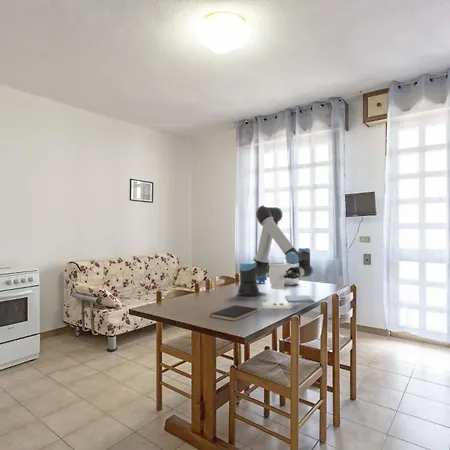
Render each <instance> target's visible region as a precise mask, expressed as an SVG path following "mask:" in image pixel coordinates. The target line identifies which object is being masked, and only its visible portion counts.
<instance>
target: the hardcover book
mask: <svg viewBox="0 0 450 450" xmlns="http://www.w3.org/2000/svg"><path fill="white" fill-rule="evenodd" d="M257 312H258V308H257V307H251V306H250V307H249V306H245V305H244V306H243V305H237V304H235V305H232V306H228V307H225V308H223V309H219V310H216V311H214V312H211V313H210V317H212V318H218V319H223V320H228V321H238V320H240V319H242V318H244V317H247V316H250V315H252V314H254V313H257Z"/></svg>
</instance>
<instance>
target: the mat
mask: <svg viewBox="0 0 450 450" xmlns="http://www.w3.org/2000/svg"><path fill="white" fill-rule="evenodd" d="M284 296H285V299H286V301H287V302H288V303H314V302H315V301H314V299H313V297H311V296H310V295H307V294H306V295H291V294H290V295H288V294H287V295H286V294H285V295H284Z"/></svg>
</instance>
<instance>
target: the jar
mask: <svg viewBox="0 0 450 450" xmlns="http://www.w3.org/2000/svg"><path fill="white" fill-rule="evenodd" d="M269 266H270V268H269V277H268V278H269V284H270V285H271V286H270V288H271V289H274V290H283V289H285V288H286V287H285V285H286V284H285V281H286V279H281V280H280V278H279V275H281V274H286V268H285V266H286V264H285V263H283V262H272V263H271V262H269Z"/></svg>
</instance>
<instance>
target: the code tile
mask: <svg viewBox="0 0 450 450" xmlns="http://www.w3.org/2000/svg"><path fill="white" fill-rule="evenodd" d="M261 303H262V309H263V310H291V309H292V308H291V306H290V304H289V302H288V301H287V302H285V301H283V302H282V301H281V302H278V301H277V302H272V301H271V302H269V301H268V302H264V301H262V302H261Z"/></svg>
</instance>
